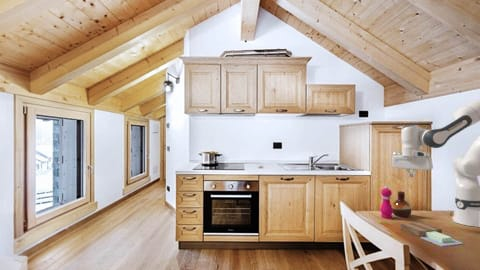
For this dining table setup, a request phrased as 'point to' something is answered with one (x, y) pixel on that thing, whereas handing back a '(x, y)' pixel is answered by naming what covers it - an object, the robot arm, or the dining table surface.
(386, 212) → the pepper mill
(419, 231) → the deck
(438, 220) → the dining table surface
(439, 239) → the pale green flat block
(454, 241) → the mat
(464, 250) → the dining table surface
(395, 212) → the vase
